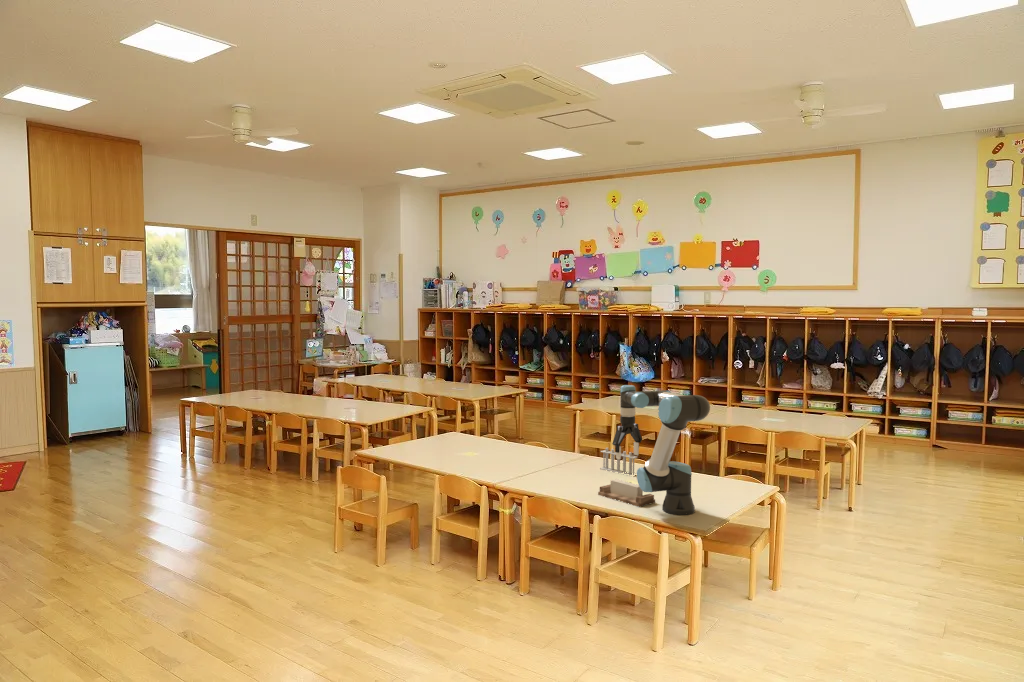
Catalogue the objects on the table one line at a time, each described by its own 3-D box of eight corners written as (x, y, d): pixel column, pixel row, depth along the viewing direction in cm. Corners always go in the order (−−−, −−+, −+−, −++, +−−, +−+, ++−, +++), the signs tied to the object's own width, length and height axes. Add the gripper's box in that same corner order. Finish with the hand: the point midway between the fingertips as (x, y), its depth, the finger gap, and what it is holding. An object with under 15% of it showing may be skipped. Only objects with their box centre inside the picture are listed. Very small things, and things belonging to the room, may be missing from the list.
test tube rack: (637, 475, 410) (638, 452, 409) (633, 476, 407) (633, 454, 406) (604, 468, 429) (604, 446, 428) (599, 469, 426) (599, 447, 425)
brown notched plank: (655, 502, 354) (655, 494, 354) (639, 506, 347) (639, 498, 347) (614, 490, 376) (614, 483, 376) (598, 494, 369) (598, 487, 369)
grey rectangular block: (642, 498, 356) (642, 486, 356) (637, 500, 353) (637, 487, 353) (615, 491, 370) (615, 479, 369) (610, 492, 367) (610, 480, 367)
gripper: (638, 412, 372) (637, 452, 373) (605, 417, 356) (605, 459, 357) (649, 414, 366) (648, 454, 367) (616, 419, 350) (616, 461, 351)
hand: (627, 456), depth 362 cm, fingers open, 13 cm apart
